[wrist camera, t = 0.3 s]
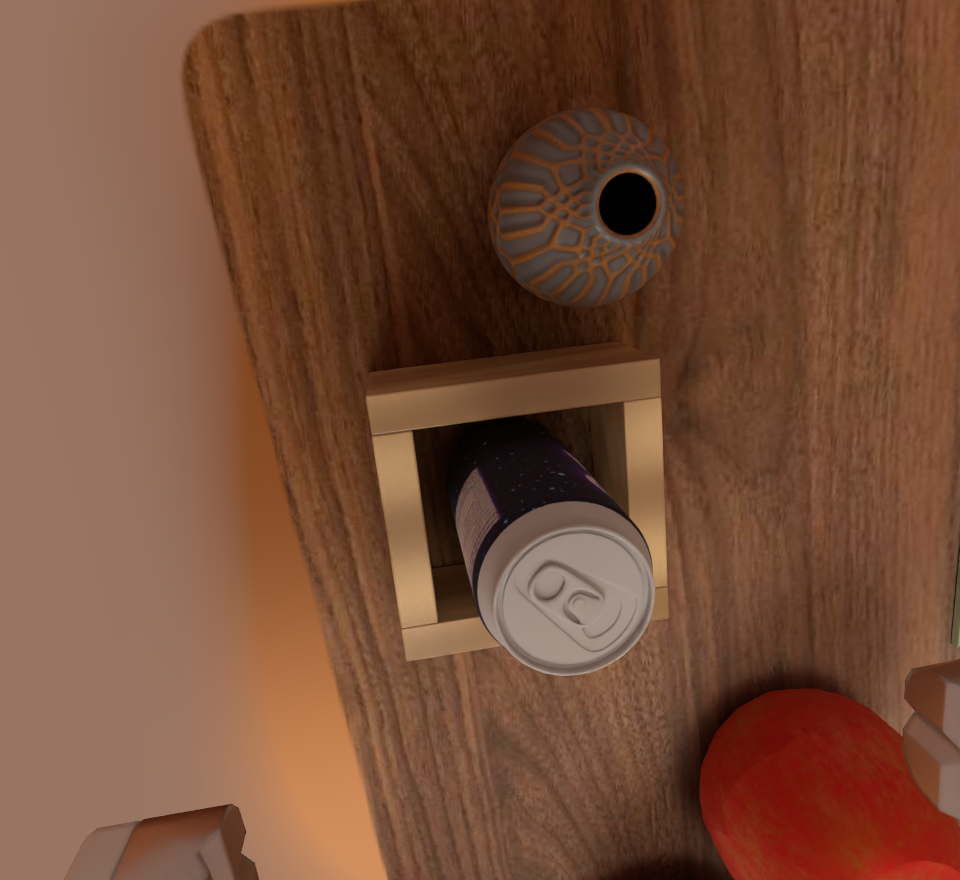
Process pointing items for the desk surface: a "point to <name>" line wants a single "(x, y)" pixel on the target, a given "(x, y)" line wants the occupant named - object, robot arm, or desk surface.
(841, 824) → the apple
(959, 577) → the mat
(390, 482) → the holder
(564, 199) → the vase
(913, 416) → the desk surface
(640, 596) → the beverage can
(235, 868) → the robot arm
